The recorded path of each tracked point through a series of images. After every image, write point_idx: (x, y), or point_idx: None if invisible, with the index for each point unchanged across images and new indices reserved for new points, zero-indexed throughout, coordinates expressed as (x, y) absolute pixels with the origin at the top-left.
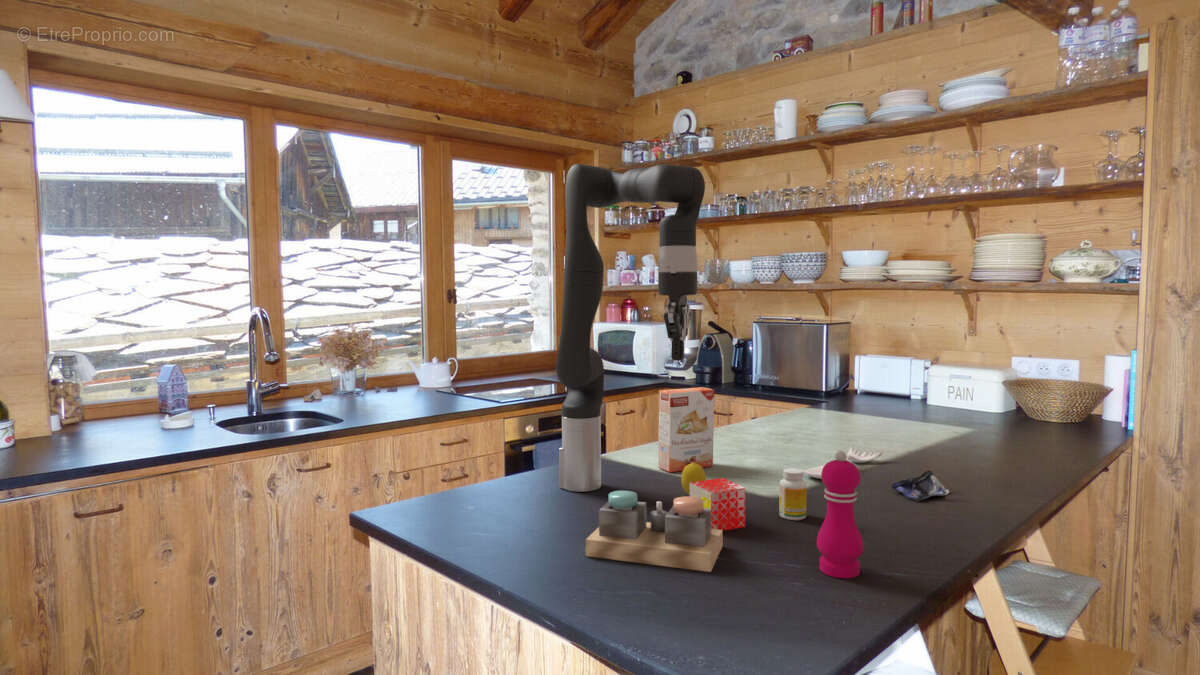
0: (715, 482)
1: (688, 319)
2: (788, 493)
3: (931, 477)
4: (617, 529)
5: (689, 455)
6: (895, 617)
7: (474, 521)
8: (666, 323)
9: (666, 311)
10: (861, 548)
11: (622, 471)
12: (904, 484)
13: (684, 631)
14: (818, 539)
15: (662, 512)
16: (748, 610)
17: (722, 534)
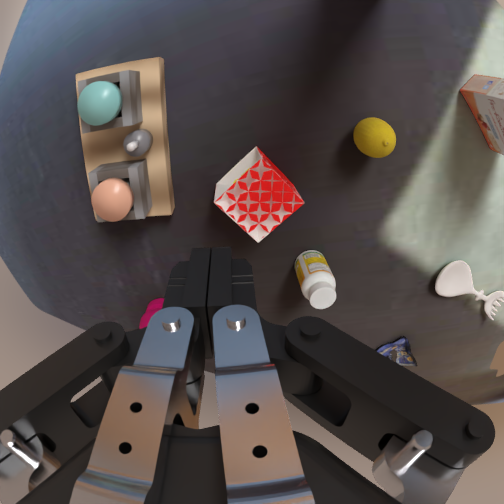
0: (275, 196)
1: (373, 456)
2: (301, 279)
3: None
4: None
5: (487, 122)
6: None
7: None
8: (3, 397)
9: (77, 498)
10: None
11: (450, 23)
12: (406, 345)
13: (11, 223)
14: (148, 316)
15: (138, 147)
16: (57, 256)
17: (172, 212)
